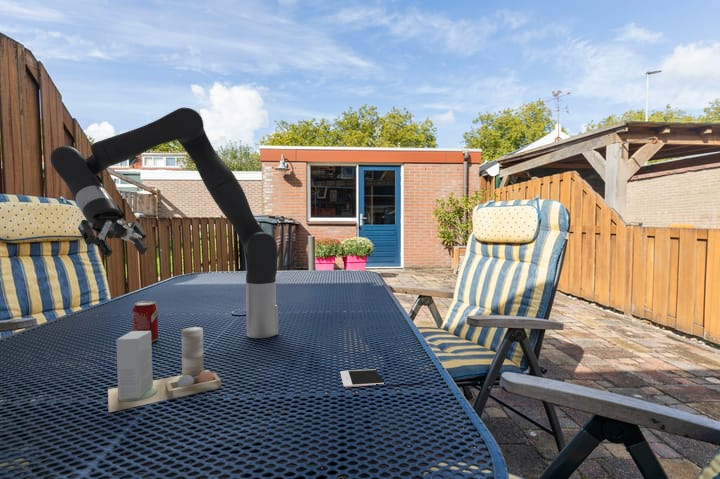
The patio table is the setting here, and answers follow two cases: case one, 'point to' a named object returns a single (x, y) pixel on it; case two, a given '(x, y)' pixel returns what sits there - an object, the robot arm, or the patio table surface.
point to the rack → (168, 386)
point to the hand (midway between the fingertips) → (127, 253)
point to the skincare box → (134, 364)
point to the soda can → (146, 318)
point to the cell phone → (360, 378)
